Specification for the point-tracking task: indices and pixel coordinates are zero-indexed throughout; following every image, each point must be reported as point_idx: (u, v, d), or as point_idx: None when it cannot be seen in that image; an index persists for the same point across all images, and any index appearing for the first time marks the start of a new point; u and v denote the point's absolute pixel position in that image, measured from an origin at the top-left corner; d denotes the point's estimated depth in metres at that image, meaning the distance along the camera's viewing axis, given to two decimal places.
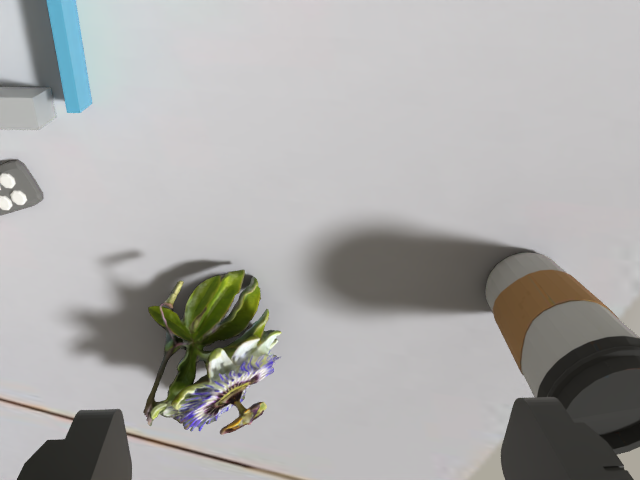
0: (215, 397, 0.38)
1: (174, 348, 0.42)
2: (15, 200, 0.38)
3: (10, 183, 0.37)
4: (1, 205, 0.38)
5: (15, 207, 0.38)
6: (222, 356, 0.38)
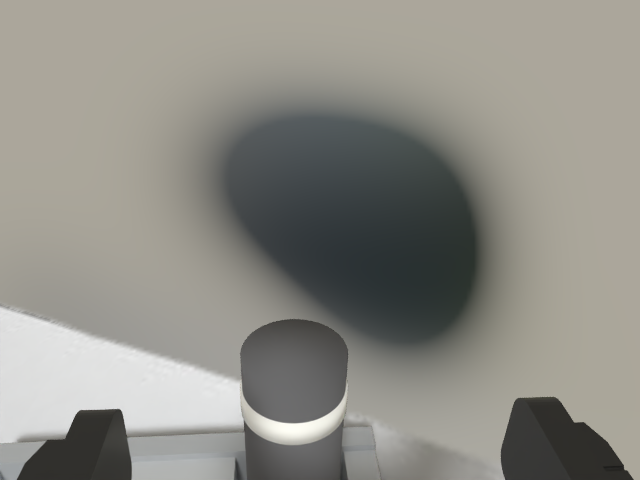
0: None
1: None
2: None
3: None
4: None
5: None
6: None
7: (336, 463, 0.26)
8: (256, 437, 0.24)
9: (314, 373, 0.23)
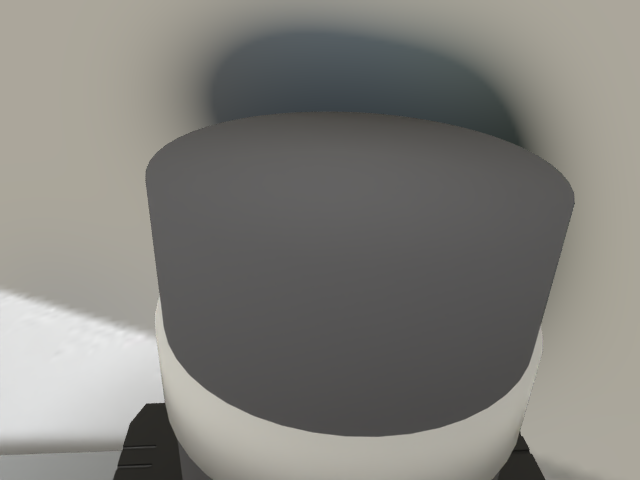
0: None
1: None
2: None
3: None
4: None
5: None
6: None
7: None
8: None
9: (458, 213, 0.05)
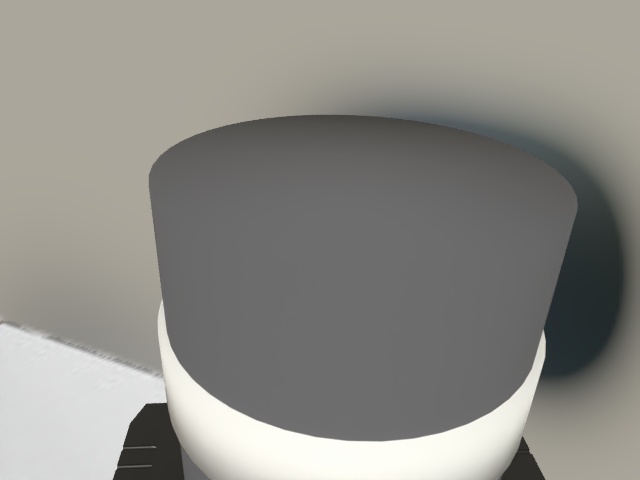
0: None
1: None
2: None
3: None
4: None
5: None
6: None
7: None
8: None
9: (460, 219, 0.05)
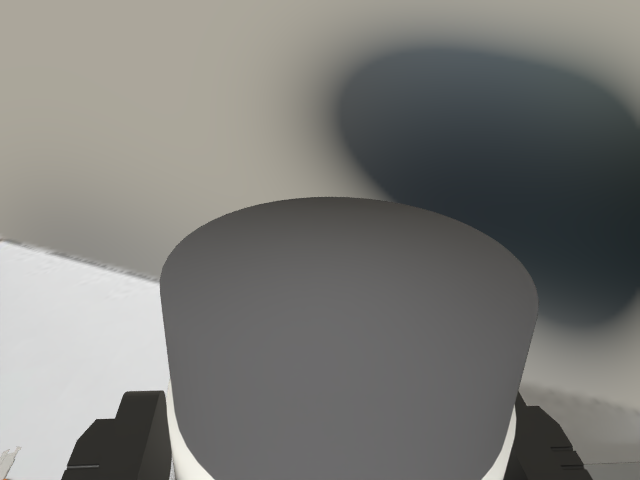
0: None
1: None
2: None
3: None
4: None
5: None
6: None
7: None
8: None
9: (433, 330, 0.06)
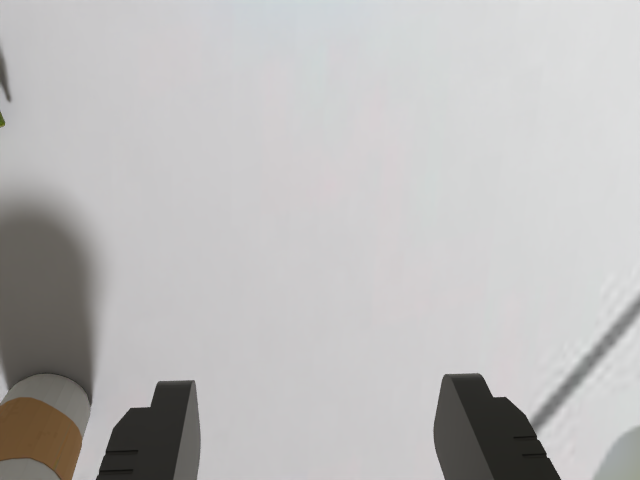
0: None
1: None
2: None
3: None
4: None
5: None
6: None
7: None
8: None
9: None
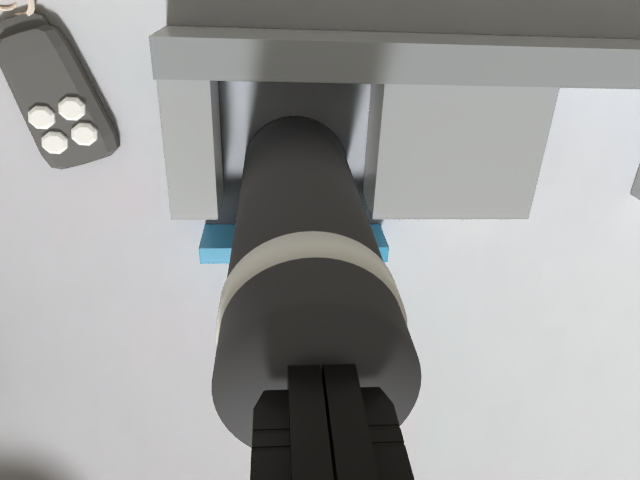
0: None
1: None
2: (49, 139, 0.23)
3: (80, 140, 0.23)
4: (36, 114, 0.22)
5: (34, 129, 0.23)
6: None
7: None
8: None
9: None
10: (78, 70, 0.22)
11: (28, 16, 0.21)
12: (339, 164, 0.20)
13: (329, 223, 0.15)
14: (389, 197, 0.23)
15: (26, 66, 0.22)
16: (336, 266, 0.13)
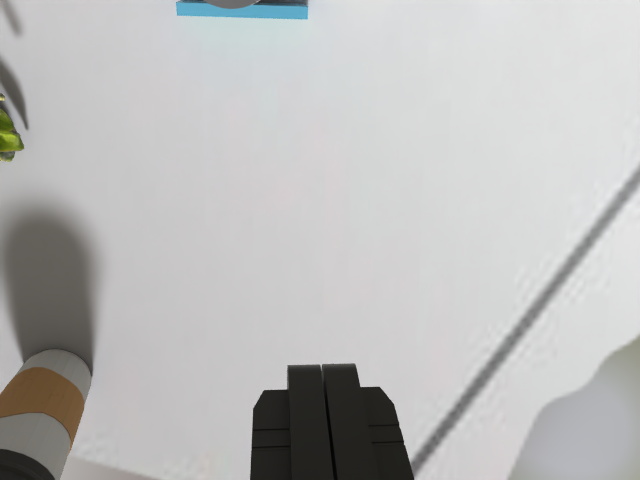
0: None
1: None
2: None
3: None
4: None
5: None
6: None
7: None
8: None
9: None
10: None
11: None
12: None
13: None
14: None
15: None
16: None
